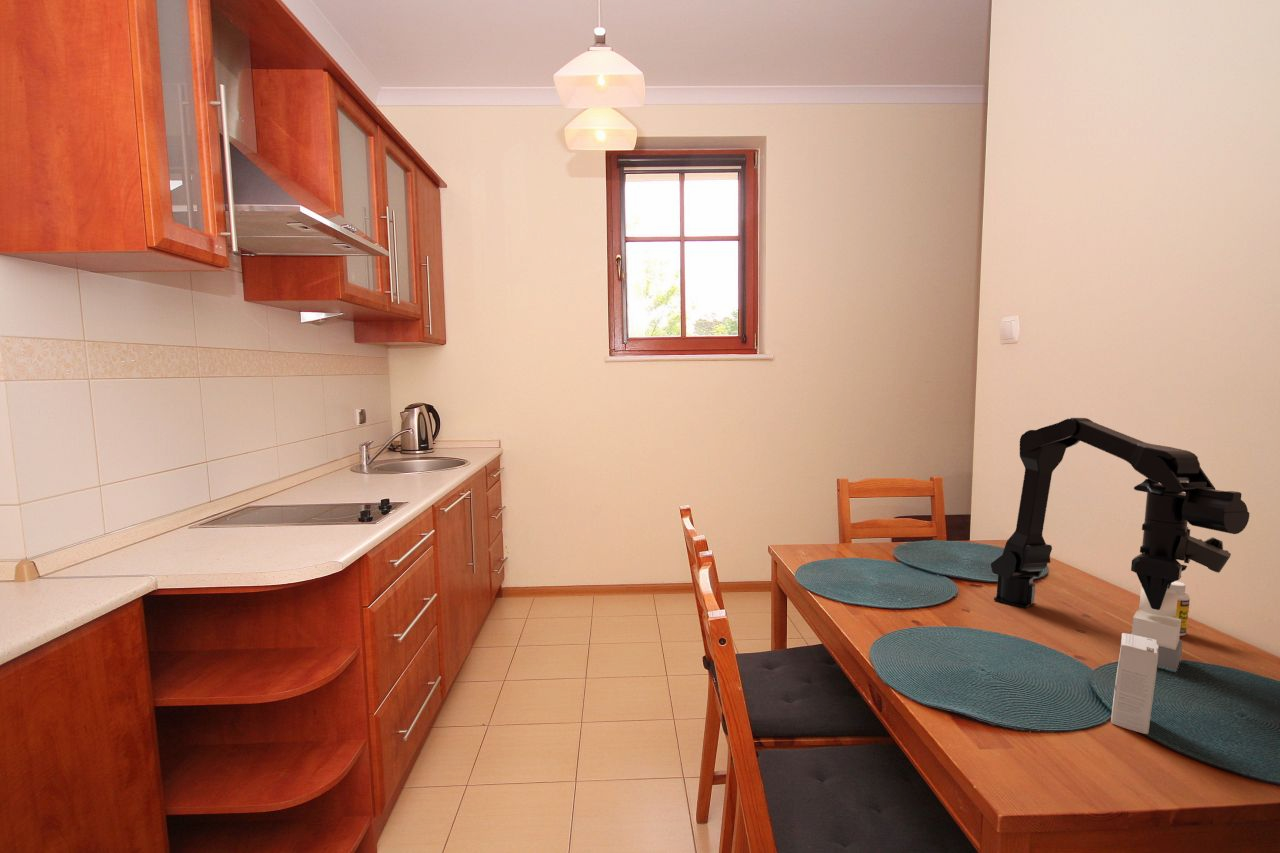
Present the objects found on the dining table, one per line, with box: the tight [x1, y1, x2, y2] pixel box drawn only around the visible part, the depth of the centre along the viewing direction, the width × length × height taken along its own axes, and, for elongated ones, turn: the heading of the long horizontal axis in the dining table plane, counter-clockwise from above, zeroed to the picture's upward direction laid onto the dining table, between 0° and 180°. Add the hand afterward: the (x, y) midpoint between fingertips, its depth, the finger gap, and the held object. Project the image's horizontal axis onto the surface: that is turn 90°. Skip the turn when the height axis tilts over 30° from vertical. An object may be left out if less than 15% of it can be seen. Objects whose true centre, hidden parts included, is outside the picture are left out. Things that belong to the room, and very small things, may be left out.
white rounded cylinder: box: [1138, 585, 1178, 617], centre depth 107 cm, size 5×5×4 cm
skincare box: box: [1110, 632, 1159, 735], centre depth 86 cm, size 6×4×12 cm
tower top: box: [1131, 609, 1181, 650], centre depth 107 cm, size 6×6×4 cm
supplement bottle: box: [1169, 580, 1191, 637], centre depth 121 cm, size 6×6×10 cm
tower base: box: [1129, 630, 1184, 671], centre depth 108 cm, size 7×7×4 cm
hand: (1157, 605), depth 107 cm, fingers closed on white rounded cylinder, 5 cm apart
